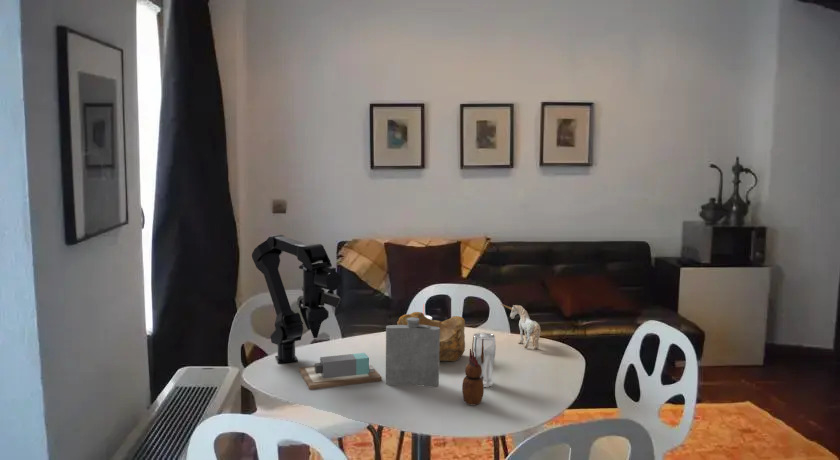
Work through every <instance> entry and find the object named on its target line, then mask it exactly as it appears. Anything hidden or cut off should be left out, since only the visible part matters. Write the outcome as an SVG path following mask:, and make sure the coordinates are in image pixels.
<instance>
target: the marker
mask: <svg viewBox="0 0 840 460" xmlns="http://www.w3.org/2000/svg"><path fill="white" fill-rule="evenodd" d="M319 360H320V361H319V362H315V363H314V366H315V373H316V374H318V373H321V375H322V377H323V378H324V379H325V378H334V377H343V376H352V375H361V374H369V363H370V357H369V356H368V355H367V354H366V353H365V352H361V353H360V352H359V353H350V354H340V355H339V354H338V355H329V356H328V355H327V356H320V357H319Z"/></svg>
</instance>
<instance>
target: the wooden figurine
mask: <svg viewBox="0 0 840 460" xmlns="http://www.w3.org/2000/svg"><path fill="white" fill-rule="evenodd" d="M464 369H465V371H464V373H465V377H464V378H463V380H462V384H461V385H462V386H461V387H462V389H461V391H462V397H463V400H464V403H466V404H467V405H469V406H477V405H479V404H481V402H482V401H483V398H484V397H483V396H484V391H485V389H484V385H483V381H482V379H481V378H480V376H481V374H482V368H481V365H480V364H478V361H477V360H476V357H474V352H473V354H472V348H469V359H468V363H467V364H466V366H465V368H464Z"/></svg>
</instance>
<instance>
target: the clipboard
mask: <svg viewBox="0 0 840 460" xmlns="http://www.w3.org/2000/svg"><path fill="white" fill-rule="evenodd" d="M298 369H299V371H300V372H299V371H298V372H299V373H300V375H301V377H302V379H303V380H304V382H305V384H306V386H307V388H308V389H309V390H316V389H323V388H330V387H331V388H333V387H340V386H341V387H342V386H349V385H357V384H366V383H374V382H383V381H382V375H381V374H380V373H379V372H378V371H377V370H376V369H375V367H374V366H373V365H372V363H370V362H369V374H361V375H352V376H343V377H334V378H325V379H324V378H323V377H322V375H321V373H318V374H316V373H315V365H311V366H301V367H298Z"/></svg>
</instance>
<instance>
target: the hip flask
mask: <svg viewBox="0 0 840 460" xmlns="http://www.w3.org/2000/svg"><path fill="white" fill-rule="evenodd" d="M407 322H408V325H398V324H392V325H391V324H389V325H386V326H385V385H388V386H417V385H424V386H423V387H429V386H437V387H438V385H439V383H440V361H439V345H440V328H439V327H434V326H428V325H419V323H418V322H419V318H414V317H412V318H407ZM439 386H440V385H439Z"/></svg>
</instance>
